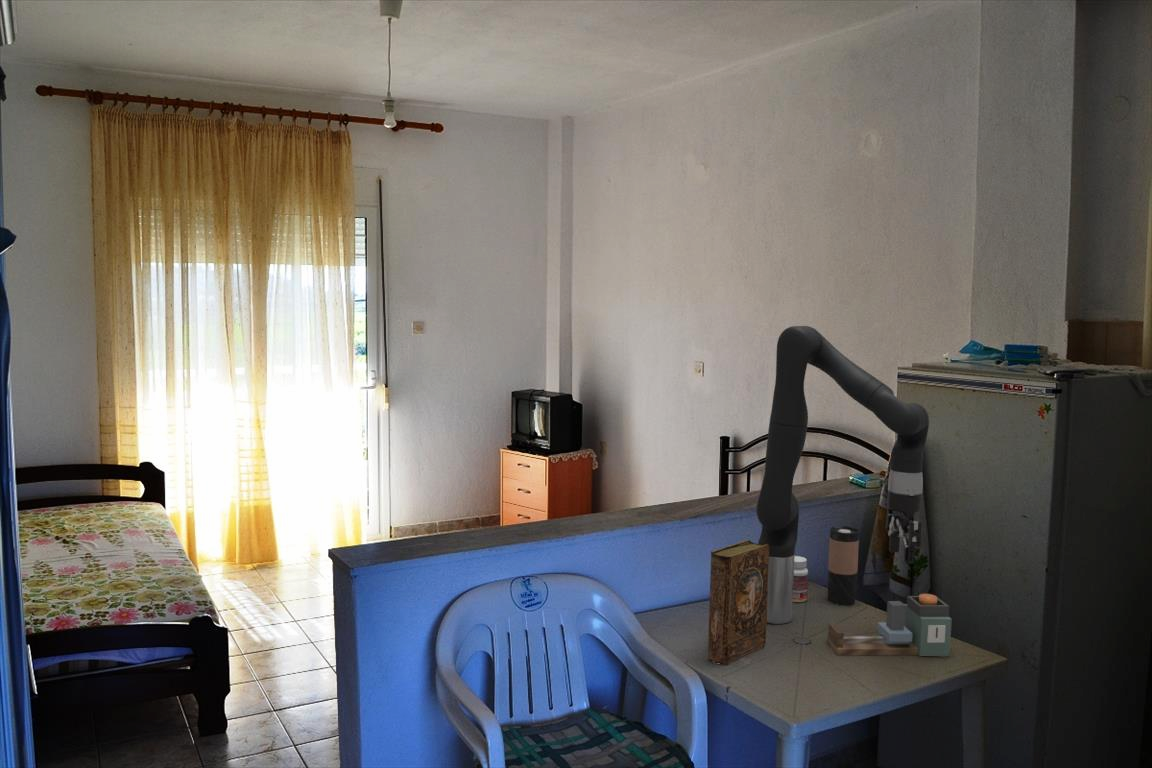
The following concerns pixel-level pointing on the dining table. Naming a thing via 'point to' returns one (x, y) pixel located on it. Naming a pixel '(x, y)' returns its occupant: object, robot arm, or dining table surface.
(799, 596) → the pill bottle
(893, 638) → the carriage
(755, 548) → the book
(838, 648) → the rail stand
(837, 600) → the travel mug
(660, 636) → the dining table surface
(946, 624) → the cabinet
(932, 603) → the button
